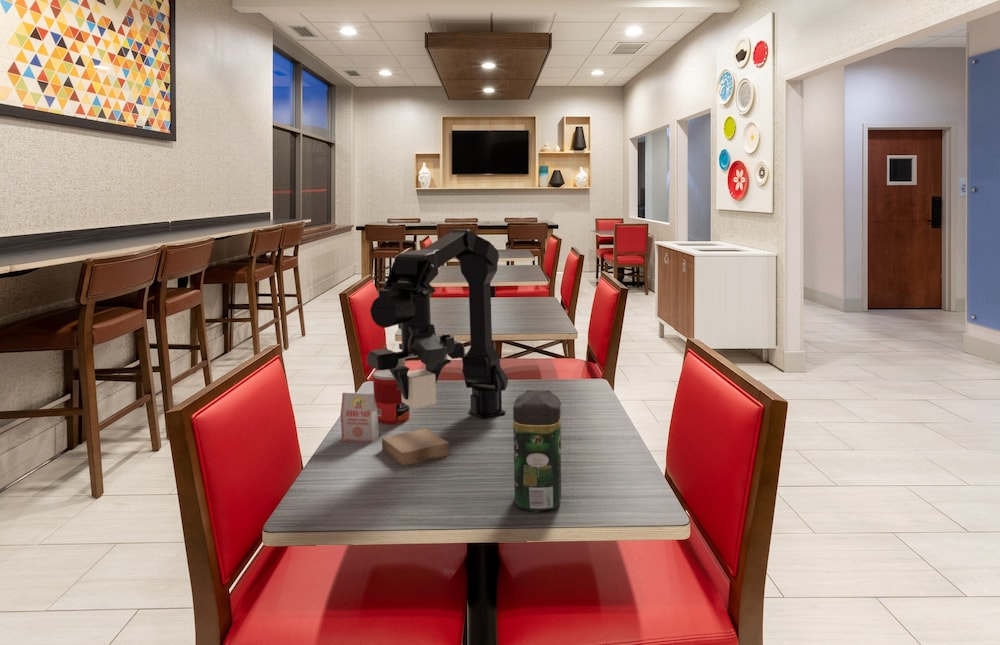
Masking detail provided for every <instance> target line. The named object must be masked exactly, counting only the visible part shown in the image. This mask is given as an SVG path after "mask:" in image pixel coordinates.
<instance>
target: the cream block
mask: <svg viewBox="0 0 1000 645" xmlns="http://www.w3.org/2000/svg"><path fill="white" fill-rule="evenodd" d="M407 380H408V392H409V394H408V399H407V400H406V399H404V397H403V395H402V403H404V404H406V405H408V406H409V408H412V409H416V408H417V409H418V408H422V407H428V406H433V405H436V404H437V383H436V379H435V374H434V373H432V372H429V371H427V370H426V369H423V368H422V369H415V370H409V371H408V373H407Z"/></svg>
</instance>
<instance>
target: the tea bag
mask: <svg viewBox="0 0 1000 645" xmlns="http://www.w3.org/2000/svg"><path fill="white" fill-rule="evenodd" d="M341 394H342V395H341V398H342V399H341V408H340V424H341V425H340V427H341V428H340V430H341V441H342V442H360V443H374V442H375V441H376V440H377V439H378V438H379V435H380V433H379V422H378V412H377V406H376V403H375V398H374V393H368V392H367V393H365V392H342V393H341Z"/></svg>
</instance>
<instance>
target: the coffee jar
mask: <svg viewBox="0 0 1000 645" xmlns="http://www.w3.org/2000/svg"><path fill="white" fill-rule="evenodd" d="M561 406H562V402H561V400H560V398H559V397H558V396H557V395H556V394H555V393H553V392H552V391H551V390H548V389H547V390H546V389H545V390H543V389H527V390H526V391H525V392H523V393H522V394H520V395H518V396H517V397H516V399H515V400H514V402H513V407H512V408H513V409H512V412H513V413H512V414H513V415H512V416H513V417H512V421H513V422H512V423H513V424H512V425H513V426H512V430H513V432H512V436H513V437H512V439H513V442H512V444H513V471H514V472H513V477H514V478H513V479H514V483H513V484H514V502H515V505H516V506H517V507H518V508H519V509H524V510H527V511H530V512H544V511H549V510H554V509H557V508H558V506H559V505H560V503H561V500H562V420H561V419H562V411H561Z"/></svg>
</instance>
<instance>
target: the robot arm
mask: <svg viewBox="0 0 1000 645" xmlns="http://www.w3.org/2000/svg"><path fill="white" fill-rule="evenodd" d="M499 256H500V255H499V251H498V249H497V248H496V247H495V246H494V245H493V244H492V243H491V242H490V241H489V240H487V239H485V238H483V237H481V236H478V235H477V234H476V232H474V231H473V230H471V229H469V228H467V229H462V228H458V229H455V228H454V229H451V230H450V231H449V232H448V233H447V234H446V235H443V236H442V237H440V238H439V239H437V240H435V241H433V242H432V243H431V244H429V245H427V246H426V247H423V248H422V249H421V248H420V249H416V250H409V251H408V250H407V251H404V252H402V253H398V255H396V257H395V258H394V260H393V263H392V266H391V268H390V271H389V274H388V276H387V278H386V282H385V284H384V287H383V289H379V291H378V297H376V298H375V299H374V300H373V302H372V304H371V307H370V316H371V318H372V320H373V322H374V324H375V325H377V326H378V327H380V328H386V329H387V328H390V327H394V326H398V329H400V332H401V334H400V335H401V343H399V344H398V349H399V350H401V351H394V350H391V349H389V348H380V349H373V350H369V351H368V353H367V356H366V365H367V366H369V367H371V368H373V369H375V370H376V371H379V370H387V369H389V370H390V372H391V373H392V375H393V376H394V378H395V380H396V382H397V384H398V386H399V388H400V391H401V393H402V395H403V397H404V399H406V400H407V399H408V394H409V392H408V380H407V373H408V371H410V367H408V366H406V362H407V361H412V360H418V359H419V360H420V362H421V364H424V365H425V370H427V371H429V372H432V373H434V374H435V379H436V384H437V382H438V379H439V376H440V374H441V372H442V370H443V368H445V366H446V365H447V364H451V361H452V360H451V359H453V360H454V359H461V360H462V375H463V380H464V383H465V387H466V388H467V389H469V388H470V389H471V394H470V409H468V412H469V413H470V414H472V415H475V416H477V417H479V418H481V419H485V418H490V417H495V416H496V417H497V416H500V415H505V414H506V411H505V410H503V405H502V404H503V403H502V402H503V401H502V398H503V397H502V391H506V390H507V387H508V384H509V377H508V376H507V374H506V372H505V371H504V370H503V369H502V367H501V360H500V355H499V354H498V352H497V350H496V349H495V347H494V346H493V335H492V334H493V330H492V324H493V323H492V299H491V296H492V293H491V282H492V280H493V279H494V277H495V275H496V274H497V271H498V262H499V258H500V257H499ZM454 258H455V259H456V260H457V261H458V262H459V268H460V273H461V274H462V276H463V277H464V279H465V281H466V283H467V284H468V308H469V309H468V310H469V311H468V313H469V335H470V336H469V337H470V339H469V340H470V348H469V349H468V351H467V353H466V348H465V346H464V344H463V343H462V342H459V341H457V340H455V336H454V335H452V333H446V334H441V335H437V333H436V327H435V324H433V323H432V318H431V316H432V315H431V294H434V293H435V292H436V289H435V287H433V285H431V283H432V282H433V280H435V278H436V277H437V276H438V275H439V269H440V267H441V266H444V265H445V264H447V263H448V262H449V261H451V260H453V259H454ZM448 357H449V358H450V359H448Z"/></svg>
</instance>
